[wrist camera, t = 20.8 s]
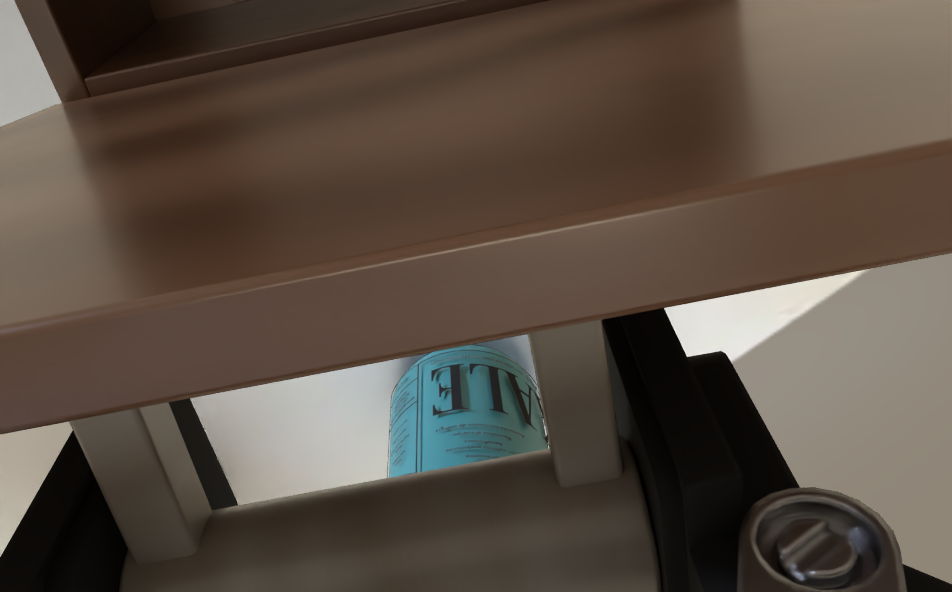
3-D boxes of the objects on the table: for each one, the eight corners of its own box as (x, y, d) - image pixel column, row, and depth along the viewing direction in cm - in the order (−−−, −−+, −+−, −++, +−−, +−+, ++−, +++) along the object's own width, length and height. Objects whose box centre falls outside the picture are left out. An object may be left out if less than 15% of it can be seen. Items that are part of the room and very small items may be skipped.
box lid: (-979, 522, 6) (-494, 951, 8) (1639, 5, 5) (1416, 641, 7) (53, 105, 21) (126, 289, 23) (742, -41, 20) (754, 164, 22)
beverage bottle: (412, 451, 38) (405, 985, 21) (369, 336, 34) (317, 859, 17) (550, 420, 37) (660, 940, 20) (520, 300, 34) (621, 801, 17)
